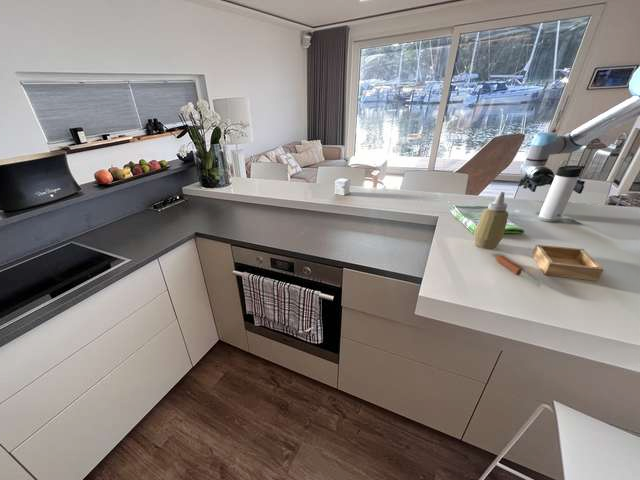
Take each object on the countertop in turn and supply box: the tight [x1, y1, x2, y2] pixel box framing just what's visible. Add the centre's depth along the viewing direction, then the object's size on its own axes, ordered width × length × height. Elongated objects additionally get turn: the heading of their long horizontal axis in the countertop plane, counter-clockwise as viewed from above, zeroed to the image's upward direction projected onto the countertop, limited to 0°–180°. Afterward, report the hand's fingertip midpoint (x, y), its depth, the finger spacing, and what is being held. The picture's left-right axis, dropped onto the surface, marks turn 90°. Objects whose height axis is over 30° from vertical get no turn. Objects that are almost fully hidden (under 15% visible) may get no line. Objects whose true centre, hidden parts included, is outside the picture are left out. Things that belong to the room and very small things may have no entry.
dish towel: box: [449, 204, 525, 235], centre depth 111 cm, size 17×23×4 cm
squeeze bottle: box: [473, 191, 509, 250], centre depth 91 cm, size 8×8×18 cm
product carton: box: [334, 177, 351, 196], centre depth 155 cm, size 6×6×7 cm
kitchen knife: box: [495, 255, 542, 288], centre depth 80 cm, size 16×1×2 cm, turn 3°
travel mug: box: [537, 165, 586, 223], centre depth 105 cm, size 6×7×20 cm
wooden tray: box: [531, 244, 605, 282], centre depth 81 cm, size 12×11×4 cm
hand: (557, 189), depth 107 cm, fingers open, 13 cm apart
